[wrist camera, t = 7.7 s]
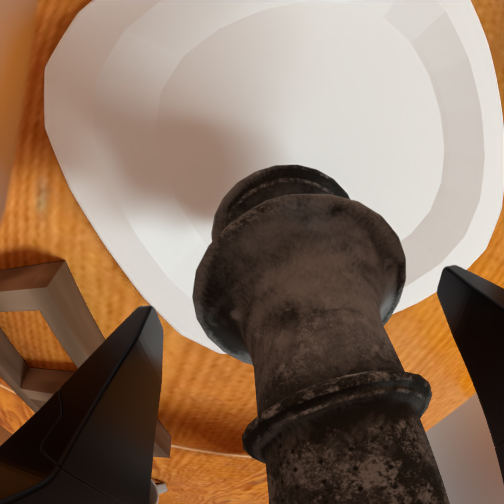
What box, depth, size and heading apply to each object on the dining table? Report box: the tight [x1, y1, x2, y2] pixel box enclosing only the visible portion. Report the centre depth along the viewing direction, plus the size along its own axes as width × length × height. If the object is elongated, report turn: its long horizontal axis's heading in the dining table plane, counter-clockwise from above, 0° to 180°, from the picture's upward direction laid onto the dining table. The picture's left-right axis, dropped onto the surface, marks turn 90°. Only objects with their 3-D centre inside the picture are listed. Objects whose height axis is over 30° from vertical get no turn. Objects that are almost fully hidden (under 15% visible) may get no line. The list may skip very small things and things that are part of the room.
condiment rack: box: [0, 261, 171, 458], centre depth 20 cm, size 12×22×2 cm, turn 6°
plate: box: [44, 0, 504, 354], centre depth 13 cm, size 22×22×2 cm
